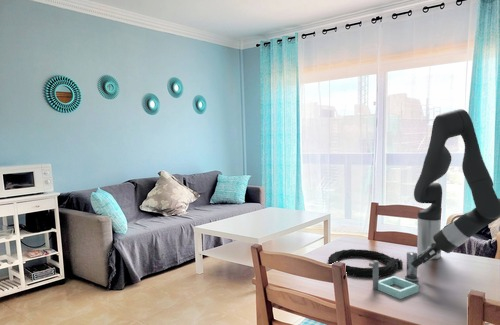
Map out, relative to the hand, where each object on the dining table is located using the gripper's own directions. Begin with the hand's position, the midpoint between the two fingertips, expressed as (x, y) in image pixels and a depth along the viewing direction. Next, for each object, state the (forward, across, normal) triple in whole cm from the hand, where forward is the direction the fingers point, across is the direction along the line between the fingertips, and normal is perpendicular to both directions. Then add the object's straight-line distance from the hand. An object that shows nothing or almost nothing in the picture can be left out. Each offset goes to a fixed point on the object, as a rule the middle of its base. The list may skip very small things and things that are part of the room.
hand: (416, 262), depth 135 cm
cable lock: (+20, -4, -10) cm, 23 cm away
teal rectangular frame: (+8, +14, +2) cm, 16 cm away
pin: (+6, 0, +4) cm, 7 cm away
